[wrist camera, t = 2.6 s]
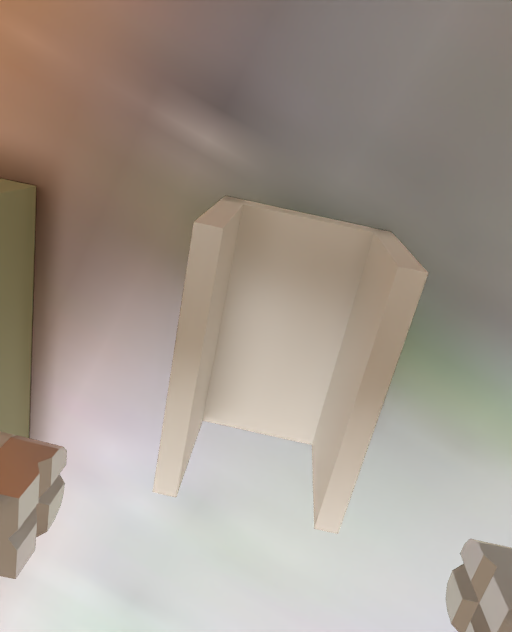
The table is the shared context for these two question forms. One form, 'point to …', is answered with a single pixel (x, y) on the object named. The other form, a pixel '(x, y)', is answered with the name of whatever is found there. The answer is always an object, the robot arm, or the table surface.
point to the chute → (288, 339)
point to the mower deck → (16, 303)
